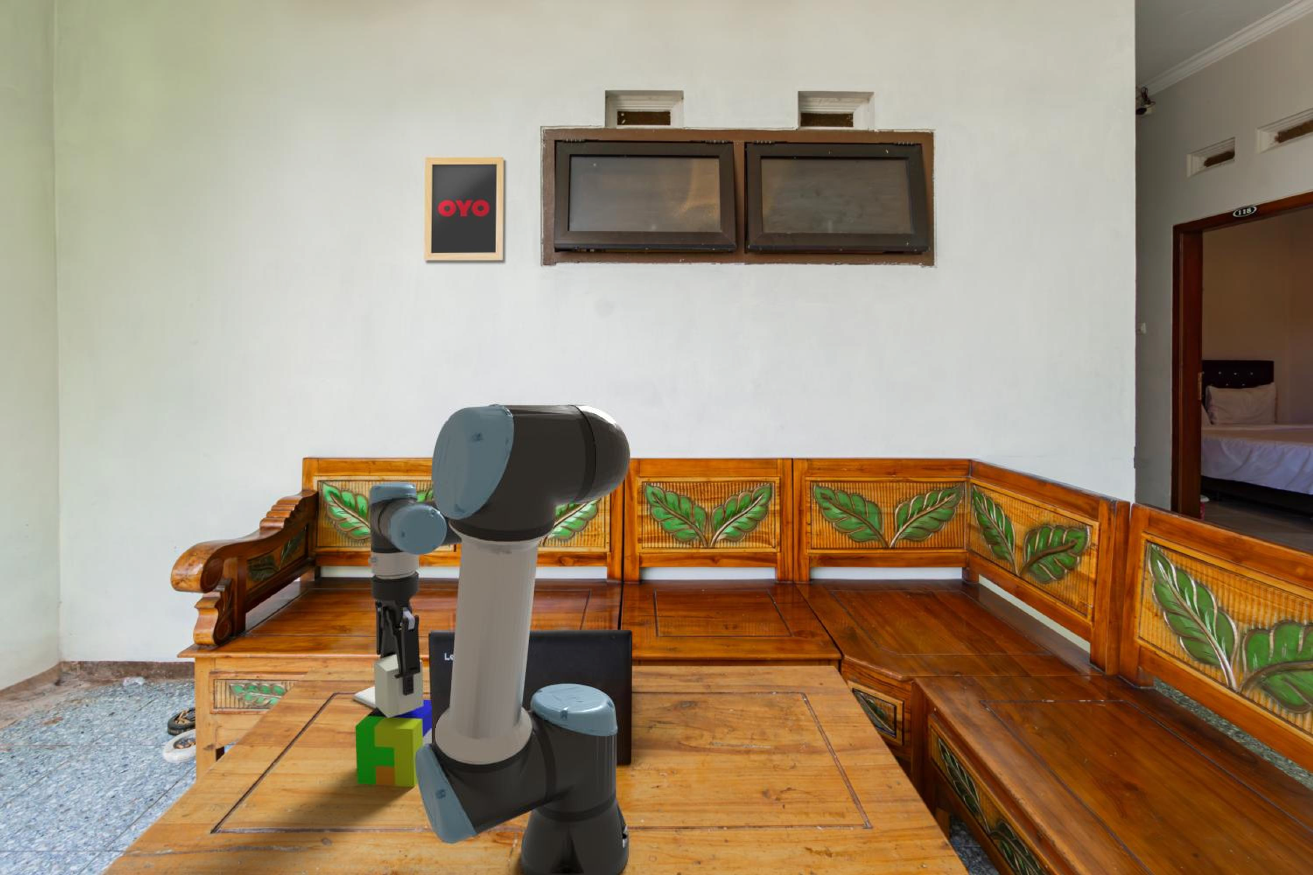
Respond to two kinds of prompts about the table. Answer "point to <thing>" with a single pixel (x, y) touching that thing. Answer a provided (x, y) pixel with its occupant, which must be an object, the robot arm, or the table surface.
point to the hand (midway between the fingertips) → (398, 703)
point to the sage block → (392, 685)
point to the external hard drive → (366, 697)
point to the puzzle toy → (391, 746)
